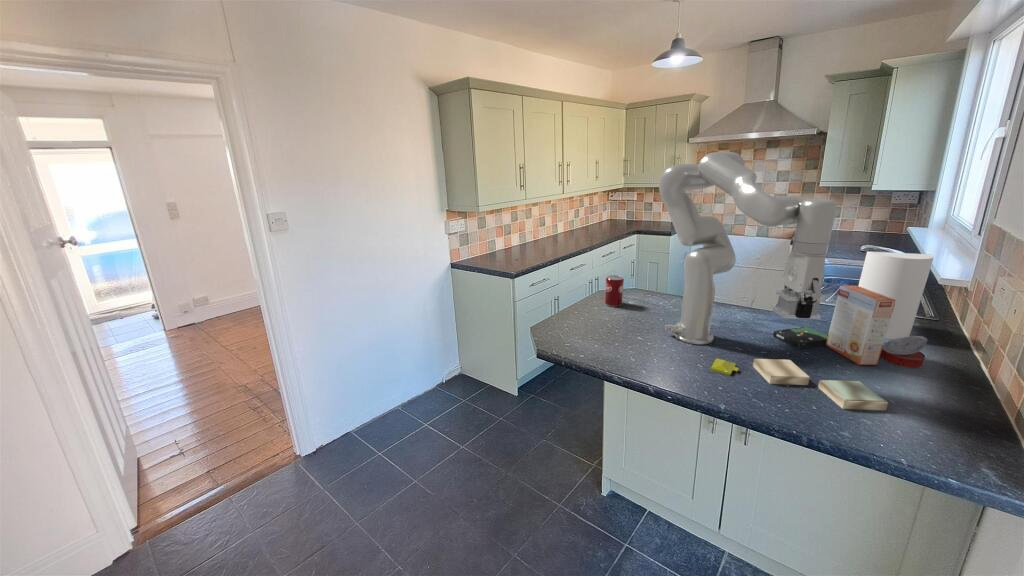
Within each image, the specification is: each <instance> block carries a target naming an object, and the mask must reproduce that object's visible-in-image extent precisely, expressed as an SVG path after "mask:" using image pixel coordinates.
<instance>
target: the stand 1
mask: <svg viewBox="0 0 1024 576" xmlns="http://www.w3.org/2000/svg"><path fill="white" fill-rule="evenodd" d="M752 367H753V368H754V370H756V372H758V373H759V375H760V376H762V378H763V379H764V380H765V381H767V383H769V384H768V385H789V386H791V385H792V386H793V385H794V386H796V385H797V386H799V385H800V386H808V385H809V382H810V376H809V375H808V374H807V373H806V372H805V371H803V370H802V369H801V368H800V367H799V366H798V365H796V363H794V362H793V361H792V360H791V359H779V358H778V359H776V358H775V359H774V358H772V359H771V358H753V363H752Z"/></svg>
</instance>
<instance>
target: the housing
mask: <svg viewBox="0 0 1024 576" xmlns="http://www.w3.org/2000/svg"><path fill="white" fill-rule="evenodd" d="M807 292H810V291H809V290H808V291H807ZM775 294H776V295H778V298H777V299H778V300H777V305H776V306H773V307H772V311H773V312H774V313H776V314H777V315H779V316H780V317H781V318H782V319H792V320H793V319H796V320H797V319H799V320H821V317H822V315H820V313H818V312H819V308H820V302H825V299H826V298H825V296H823V295H822V297H821V298H819V299H818V300H817V301H816V302H815V304H814V305H813V308H812V312H811V317H810V318H797V317H796V316H797V311H798V306H799V303H801V293H797V292H795V291H794V290H786V289H776V290H775ZM809 296H810V295H806V298H808V297H809Z"/></svg>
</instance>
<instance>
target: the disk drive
mask: <svg viewBox="0 0 1024 576" xmlns="http://www.w3.org/2000/svg"><path fill="white" fill-rule="evenodd" d="M772 337H773V338H775V339H777V340H779V341H781V342H782V343H785V344H787V345H788V346H791V347H793V348H795V349H797V350H802V349H808V348H809V349H810V348H814V347H822V346H826V341H827V337H828V333H825V332H823V331H818V330H817V329H814V328H812V327H810V326H805V327H804V326H802V327H795V328H789V329H788V328H786V329H780V330H774V331H773V335H772Z"/></svg>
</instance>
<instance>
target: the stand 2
mask: <svg viewBox="0 0 1024 576" xmlns="http://www.w3.org/2000/svg"><path fill="white" fill-rule="evenodd" d="M818 381H819V382H818V385H817V388H818V389H819V390H821V392H823V394H825V395H826V396H827V397H828V398H829V399H831V400H832V401H833V402H834V403H835V404H836V405H838V407H840V408H841V409H842V410H859V411H860V410H861V411H862V410H863V411H864V410H865V411H887V409H888V405H889V402H888V401H887V400H885V399H884V398H882V397H881V396H880V395H879V394H877V393H876V392H874V390H872V389H870V388H869V387H868V386H866V385H865V384H863V383H862V382H861V381H859V380H833V379H832V380H831V379H830V380H829V379H828V380H827V379H826V380H825V379H820V380H818Z"/></svg>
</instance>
